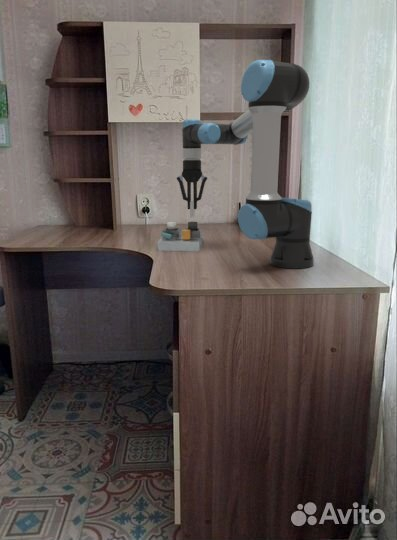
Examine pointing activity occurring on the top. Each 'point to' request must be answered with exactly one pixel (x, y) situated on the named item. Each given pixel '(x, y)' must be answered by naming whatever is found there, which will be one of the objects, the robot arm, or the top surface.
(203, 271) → the top surface
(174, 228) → the button
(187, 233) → the slider knob
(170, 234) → the teal rectangular block
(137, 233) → the top surface
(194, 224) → the button
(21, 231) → the top surface
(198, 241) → the panel
